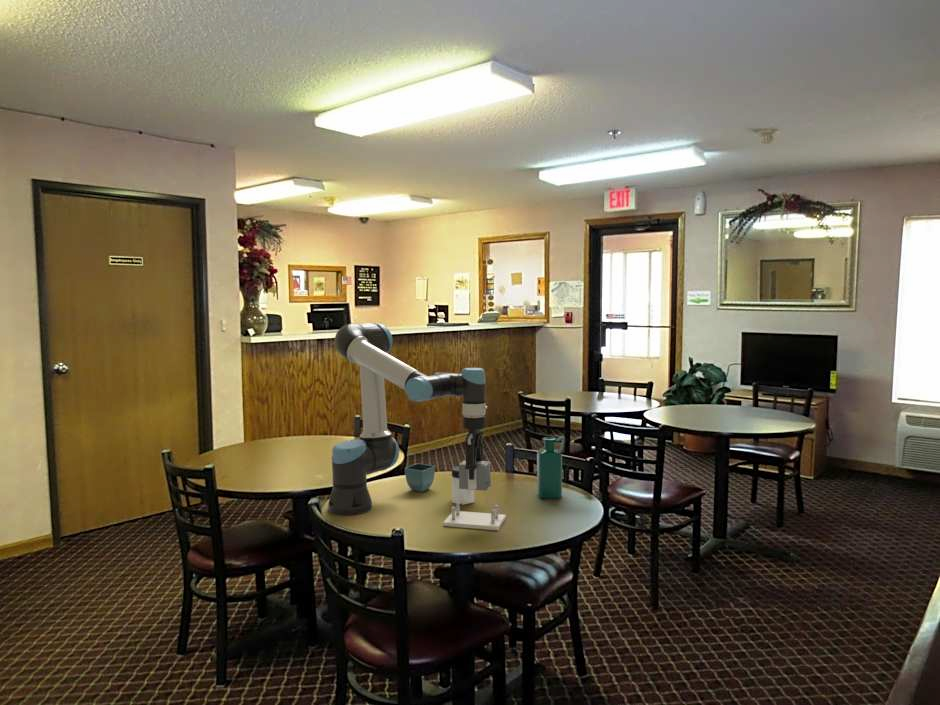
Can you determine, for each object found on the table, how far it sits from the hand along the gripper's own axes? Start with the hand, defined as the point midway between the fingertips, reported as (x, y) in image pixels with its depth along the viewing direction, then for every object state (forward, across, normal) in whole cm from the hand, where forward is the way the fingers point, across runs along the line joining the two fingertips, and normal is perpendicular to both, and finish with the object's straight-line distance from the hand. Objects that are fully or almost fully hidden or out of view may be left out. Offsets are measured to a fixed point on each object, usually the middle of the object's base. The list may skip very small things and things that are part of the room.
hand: (475, 486), depth 210 cm
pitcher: (+12, +35, -20) cm, 42 cm away
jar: (+12, +21, +10) cm, 26 cm away
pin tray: (+12, 0, 0) cm, 12 cm away
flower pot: (+12, +31, +30) cm, 45 cm away
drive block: (0, 0, 0) cm, 0 cm away
